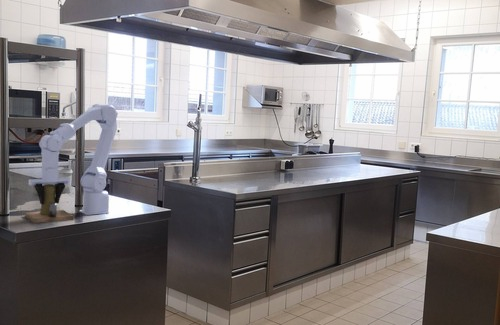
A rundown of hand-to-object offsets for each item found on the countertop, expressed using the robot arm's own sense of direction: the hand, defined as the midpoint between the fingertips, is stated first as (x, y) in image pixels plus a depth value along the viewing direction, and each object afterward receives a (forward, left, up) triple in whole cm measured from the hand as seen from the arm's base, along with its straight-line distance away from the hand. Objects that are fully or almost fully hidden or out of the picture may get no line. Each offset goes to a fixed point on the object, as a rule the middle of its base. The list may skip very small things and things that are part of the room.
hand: (49, 203), depth 184 cm
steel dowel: (0, +4, -4) cm, 6 cm away
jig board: (0, 0, -6) cm, 6 cm away
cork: (0, -1, -4) cm, 4 cm away
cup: (-22, -50, -6) cm, 54 cm away
